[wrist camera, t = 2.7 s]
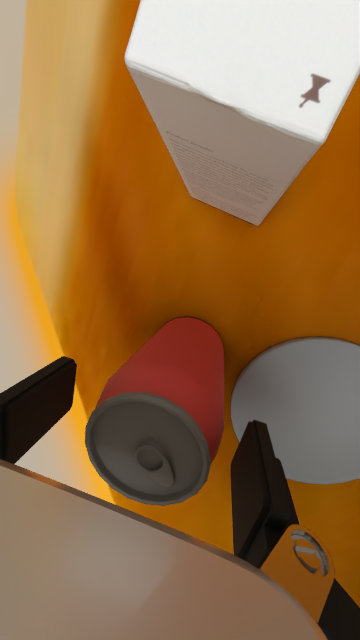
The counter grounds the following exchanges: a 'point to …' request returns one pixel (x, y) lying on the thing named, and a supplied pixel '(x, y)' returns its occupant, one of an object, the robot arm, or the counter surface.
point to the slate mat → (305, 406)
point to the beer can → (161, 416)
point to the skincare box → (244, 90)
